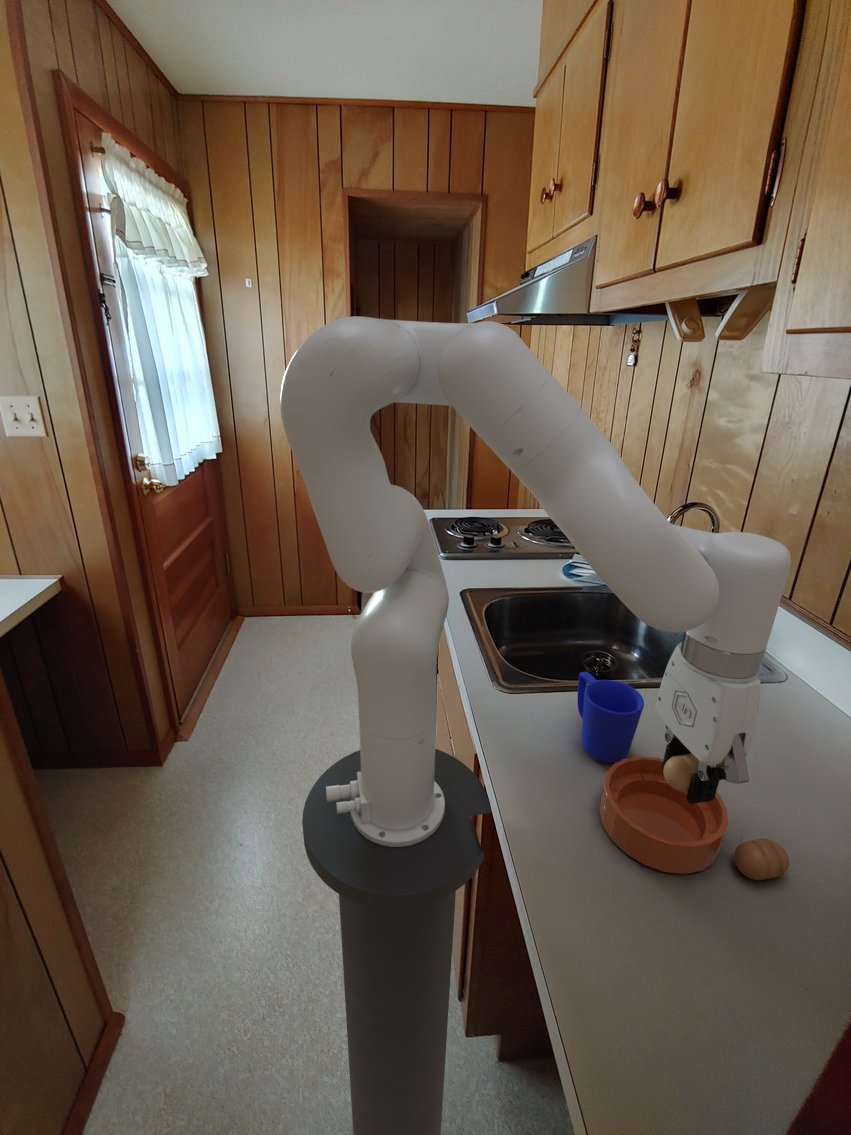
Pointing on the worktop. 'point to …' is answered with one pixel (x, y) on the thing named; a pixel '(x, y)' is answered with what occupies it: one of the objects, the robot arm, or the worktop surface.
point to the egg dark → (761, 859)
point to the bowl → (660, 818)
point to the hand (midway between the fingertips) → (686, 783)
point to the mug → (608, 717)
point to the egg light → (681, 771)
